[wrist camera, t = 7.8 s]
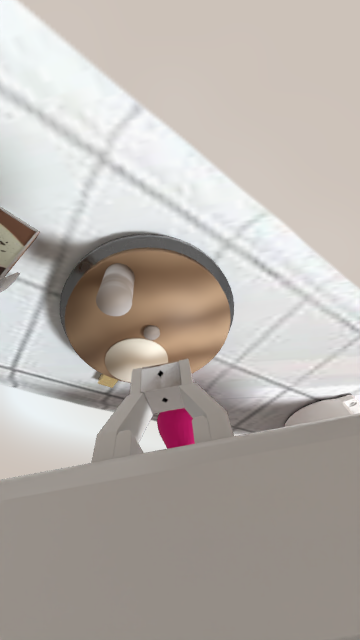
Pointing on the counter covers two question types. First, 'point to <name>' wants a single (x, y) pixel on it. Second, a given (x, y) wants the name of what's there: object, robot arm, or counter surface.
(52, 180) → the counter surface
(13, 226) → the food container
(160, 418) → the pepper mill
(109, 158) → the counter surface
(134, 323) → the turntable
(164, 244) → the base
